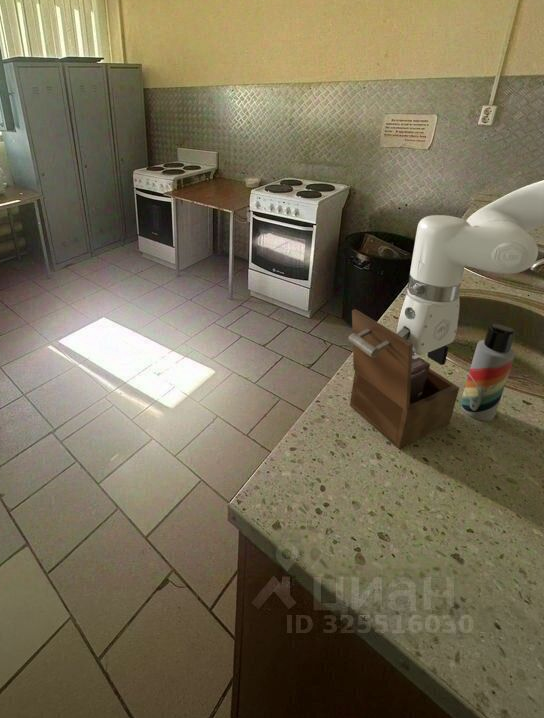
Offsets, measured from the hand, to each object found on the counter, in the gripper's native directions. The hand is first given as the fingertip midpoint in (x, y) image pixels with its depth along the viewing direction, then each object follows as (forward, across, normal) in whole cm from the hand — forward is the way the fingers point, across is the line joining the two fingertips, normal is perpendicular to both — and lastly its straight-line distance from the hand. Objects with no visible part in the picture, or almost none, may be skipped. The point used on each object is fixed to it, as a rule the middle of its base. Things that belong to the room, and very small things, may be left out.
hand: (417, 368), depth 74 cm
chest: (+12, -1, +2) cm, 12 cm away
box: (+11, -1, +2) cm, 11 cm away
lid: (-5, -9, +1) cm, 10 cm away
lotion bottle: (+13, +14, -4) cm, 19 cm away
